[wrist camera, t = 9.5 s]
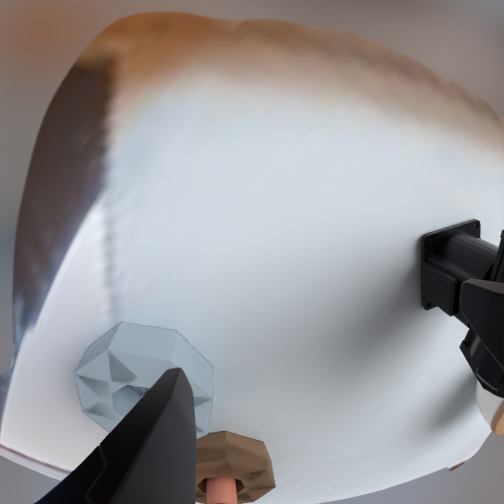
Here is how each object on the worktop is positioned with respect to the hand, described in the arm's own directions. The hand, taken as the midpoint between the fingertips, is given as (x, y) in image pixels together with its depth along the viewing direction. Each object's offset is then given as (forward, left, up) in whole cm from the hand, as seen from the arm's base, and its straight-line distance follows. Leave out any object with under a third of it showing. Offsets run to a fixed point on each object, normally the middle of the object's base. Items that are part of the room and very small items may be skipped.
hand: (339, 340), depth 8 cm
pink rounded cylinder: (+10, +22, -12) cm, 27 cm away
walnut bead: (+10, +22, -12) cm, 27 cm away
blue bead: (+12, +9, -12) cm, 19 cm away
